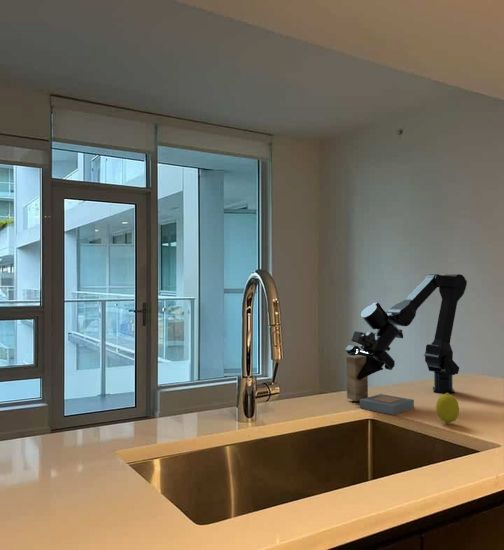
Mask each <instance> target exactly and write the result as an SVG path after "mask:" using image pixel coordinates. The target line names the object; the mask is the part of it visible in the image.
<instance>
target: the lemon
mask: <svg viewBox="0 0 504 550" xmlns="http://www.w3.org/2000/svg"><path fill="white" fill-rule="evenodd" d="M435 411H436V415H437V416H438V418H439V419H440V420H441V421H442V422H444V423H445V425H450V424H452V422H453V423H454V422H455V421H456V420H457V419H458V417H459V413H460V406H459V402H458V400H457V398H456V397H455V396H454V395H452V394H451V393H444V394H442V395H440V396H439V397H438V399H437V400H436V405H435Z"/></svg>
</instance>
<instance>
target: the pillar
mask: <svg viewBox="0 0 504 550" xmlns="http://www.w3.org/2000/svg"><path fill="white" fill-rule="evenodd" d="M365 363H366V356H361V355H351V356H350V355H346V398H347V399H348V400H352V401H354V402H360V399H364V398H368V397H369V387H368V385H369V382H368V381H369V380H368V379H369V376H367V377H365V378H363V379H361V380H358V379H357V376H358V374H359V373H360V371H361V369H362V368H363V366H364V365H365Z"/></svg>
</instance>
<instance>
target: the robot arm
mask: <svg viewBox="0 0 504 550" xmlns="http://www.w3.org/2000/svg"><path fill="white" fill-rule="evenodd" d="M467 283H468V281H467V279H466V277H465V276H464V275H463V274H460V273H458V274H457V273H455V274H452V273H451V274H449V273H447V274H444V275H442V274H436V273H435V274H434V273H431V274H430V273H429V274H428V275H425V277H424V279H423V280H422V281H421V283H419V284H418V285H417V286H416V288H414V290H412V292H410V294H409V295H408V296H407V297H406V298H405V299H403V300H402V301H400V302H398V303H396V304H394V305H393V306H391V307H390V308H389V309H388V310H387V311H385V309H384V308H382V307H383V306H381V304H380V303H379V302H376V301H374V302H373V303H372V304H370V305H368V306H366V307H365V308H363V309H362V311H361V312H360V316H361V318H362V319H363V320H364V322H366V324H367V325H368V326H369V327H370V328H371V329H372V330H376V332H372V331H367V332H366V333H365V332H361V331H356V330H354V332H353V334H352V337H351V342H353V343H357V344H358V345H360V346H358V345H355V344H354V345H353V344H348V345H347V346H346V347H345V348H344V351H345V352H346V353H347V354H348V356H351V355H361V356H366V363H365V365H364V366H363V368H362V369H361V371H360V373H359V374H358V376H357V379H358V380H361V379H363V378H365V377H367V376H368V377H369V376H370V375H372V374H375V373H377V372H380V371H383V370H384V369H385V370H390V371H392V370H393V369H394V367H395V366H396V365H395V364H396V363H395V362H396V361H395V360H394V358H393V357H392V356H391V355H390V354H389V353H388V352H389V351H390V350H391V347H390V346H391V344H392V343H393V342H394V341H395V339H396V338H398V339H404V333H403V329H400V328H398V327H397V326H399V327H408V326H410V325H411V323H413V320H414V319H415V317H416V314H417V310H419V308H420V307H421V306H422V305H423V303H424V302H426V300H427V299H428V298H429V297H430V296H431V295H432V294H433V293H434V291H435V290H436V289H437V288H438V291H439V295H440V297H441V303H440V309H439V312H438V313H439V314H438V317H437V318H438V319H437V323H436V324H437V325H436V329H435V334H434V339H433V341H432V342H431V343H430V344H428V343H427V344H426V346H425V353H424V354H423V356H424V361H425V363H426V365H427V368H428V371H429V372H434V373H433V375H434V376H433V377H434V379H433V381H434V384H433V385H434V386H432V391H433V393H444V394H446V393H449V394H455V392H456V391H455V389H454V386H453V384H454V383H453V382H454V381H453V380H454V379H453V376H455V375H458V374H459V372H460V367H459V366H458V364H457V363H456V362H455V361H454V360H453V359H454V357H453V356H454V352H453V350H452V346H451V340H452V339H451V337H452V332H453V327H454V323H455V317H456V313H457V311H456V310H457V306H458V302H459V300H461V298H462V297H463V296H464V294H465V291H466V288H467V285H468V284H467ZM383 367H384V368H383Z"/></svg>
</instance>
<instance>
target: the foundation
mask: <svg viewBox="0 0 504 550" xmlns="http://www.w3.org/2000/svg"><path fill="white" fill-rule="evenodd" d="M412 408H413V409H414V408H415V399H412V398H405V397H401V396H396V395H394V396H393V395H390V394H383V393H380V394H375V395H371V396H368V398H364V399H360V401H359V409H362V410H363V409H364V410H367V411H373V412H376V413H382V414H386V415H387V414H388V415H391V416H394V415H398V414H401V413H403V412H405V411H410V410H412ZM409 409H410V410H409Z"/></svg>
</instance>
